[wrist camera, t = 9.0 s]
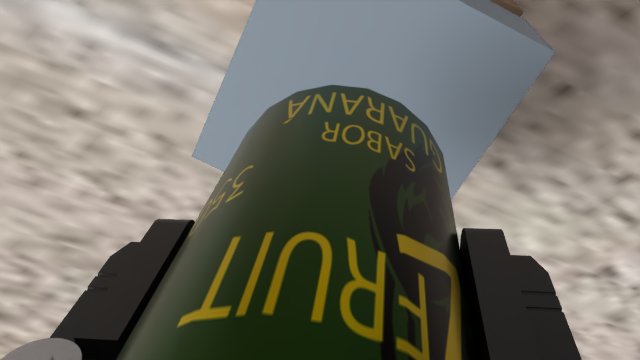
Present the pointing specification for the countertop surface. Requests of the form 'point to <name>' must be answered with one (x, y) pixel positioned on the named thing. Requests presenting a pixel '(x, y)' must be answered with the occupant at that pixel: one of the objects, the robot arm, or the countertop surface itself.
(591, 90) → the countertop surface
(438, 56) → the slate-blue block
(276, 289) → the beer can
